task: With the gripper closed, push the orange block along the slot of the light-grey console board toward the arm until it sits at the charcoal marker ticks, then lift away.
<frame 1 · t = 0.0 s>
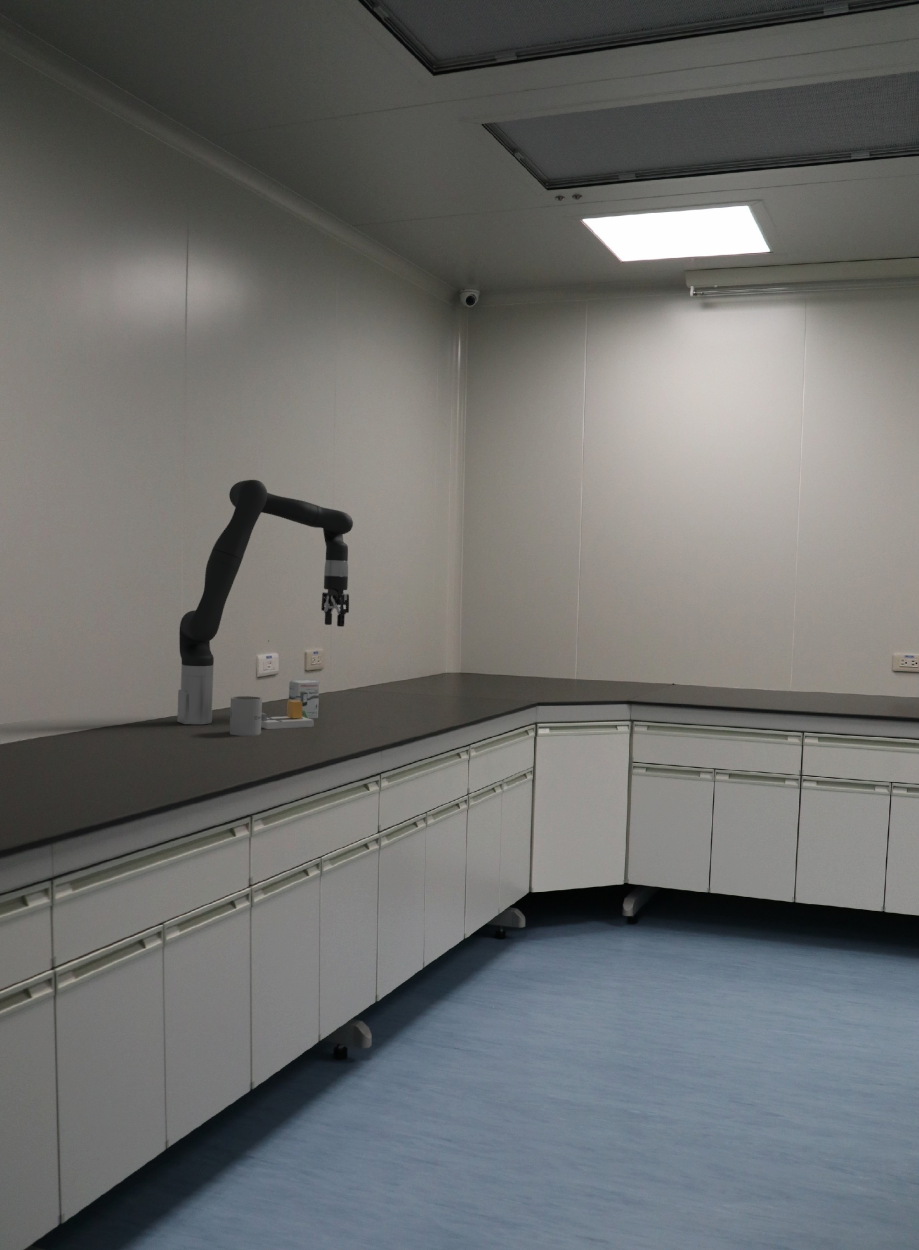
hand: (334, 625, 334), 29 cm above the worktop, fingers open, 8 cm apart
ink box: (302, 718, 330), on the worktop
console: (283, 725, 311), on the worktop
mug: (248, 733, 295), on the worktop
orange block: (294, 709, 313), point 5 cm above the worktop, slide at 3.5 cm
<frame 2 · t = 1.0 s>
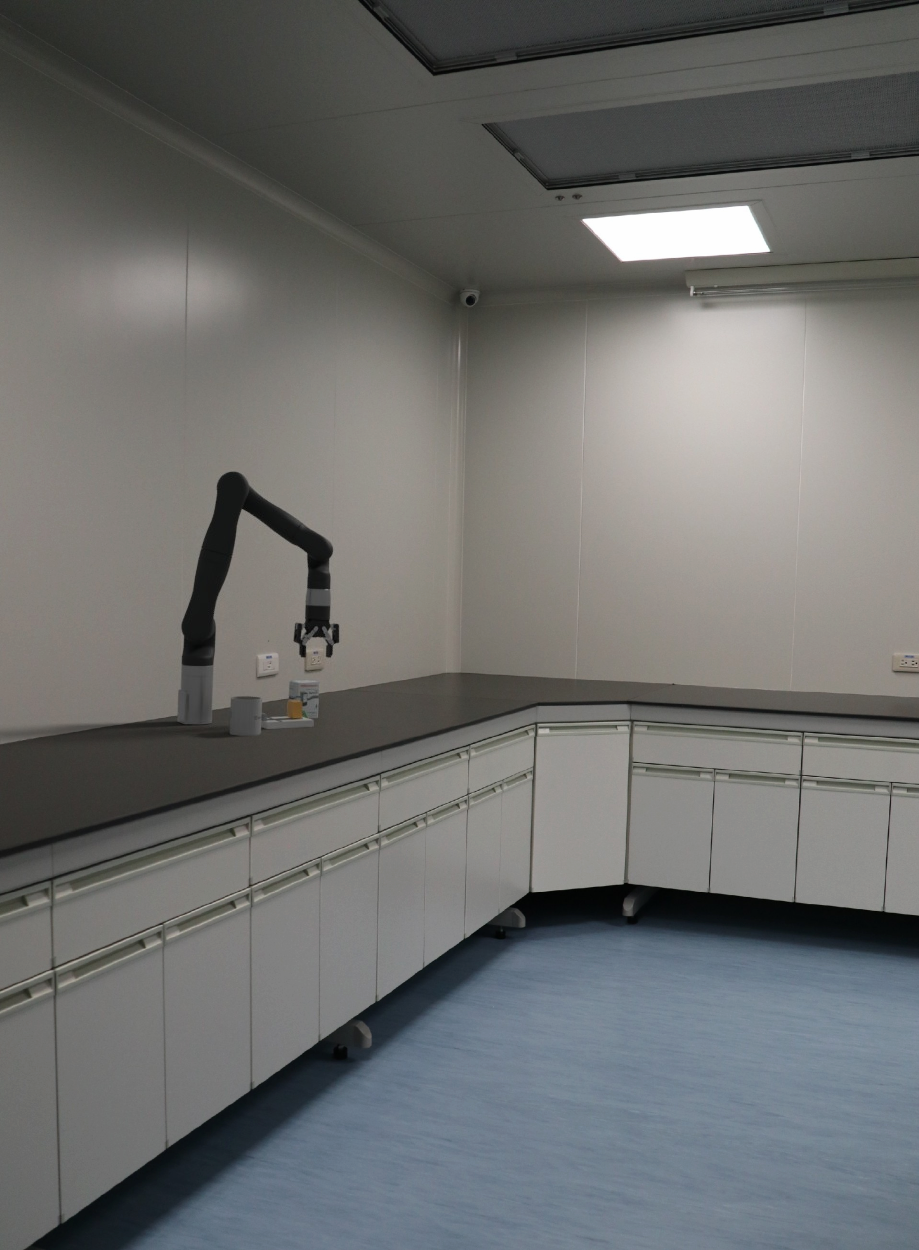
hand: (315, 657, 317), 20 cm above the worktop, fingers open, 8 cm apart
nothing on the worktop moved.
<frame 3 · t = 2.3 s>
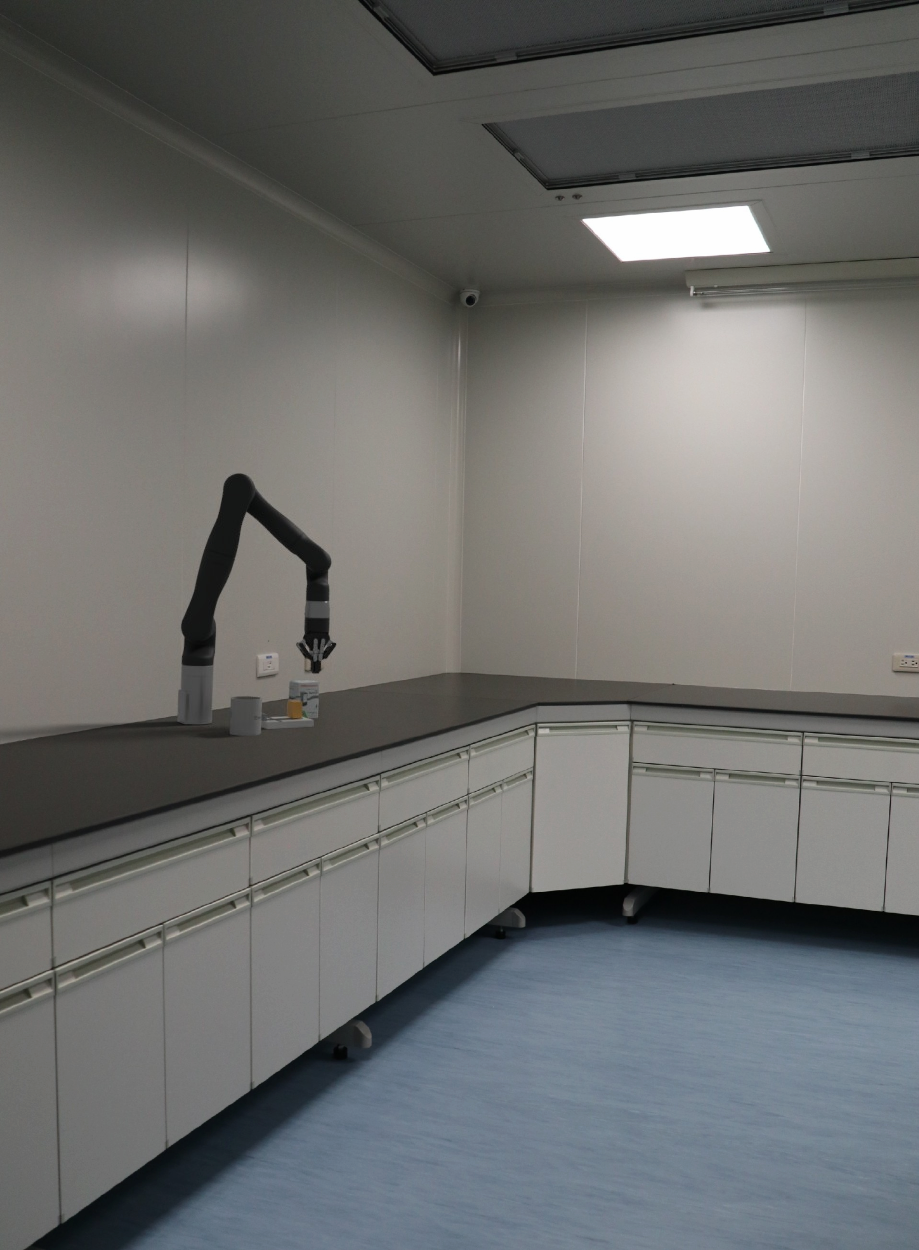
hand: (315, 673, 316), 15 cm above the worktop, fingers closed
nothing on the worktop moved.
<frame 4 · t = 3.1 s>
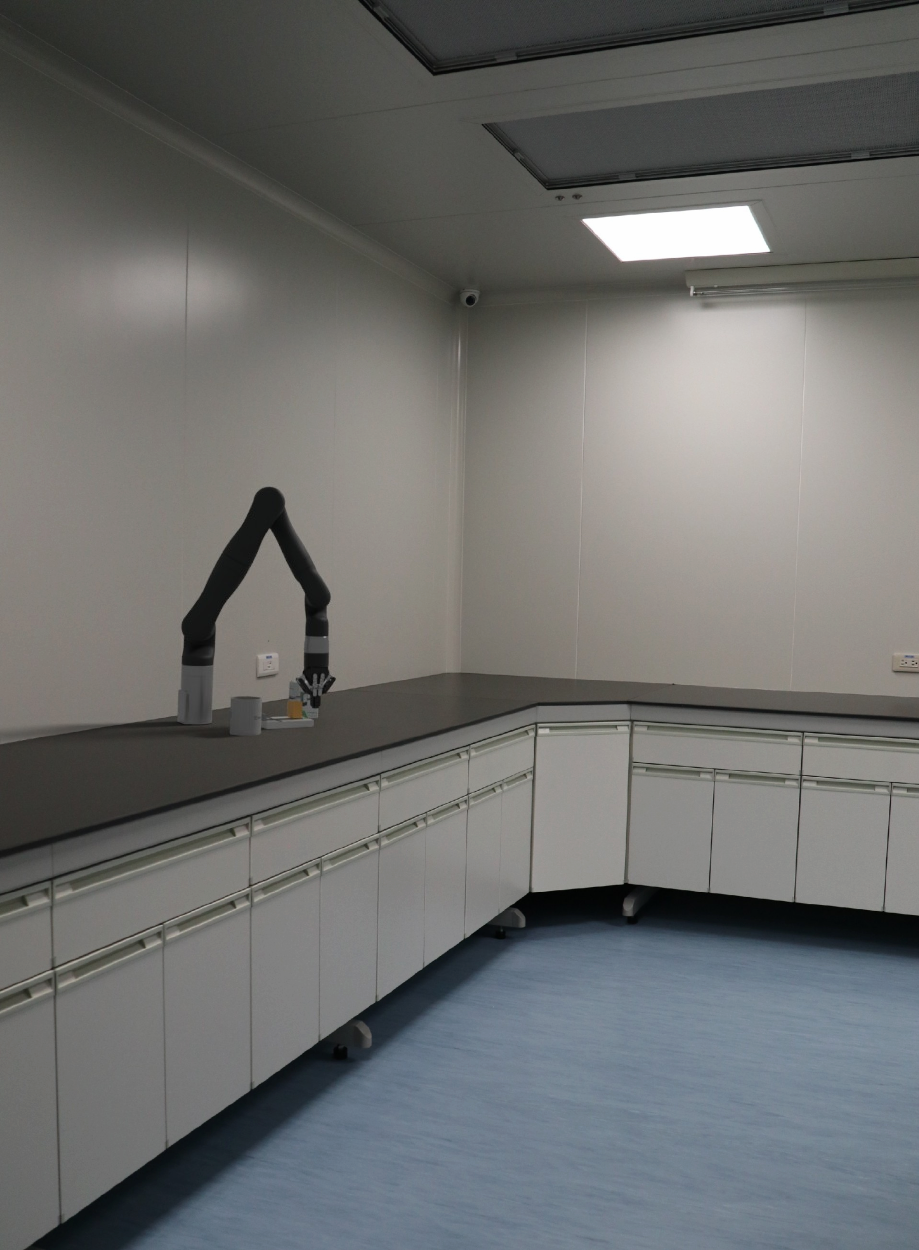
hand: (315, 708, 317), 5 cm above the worktop, fingers closed
nothing on the worktop moved.
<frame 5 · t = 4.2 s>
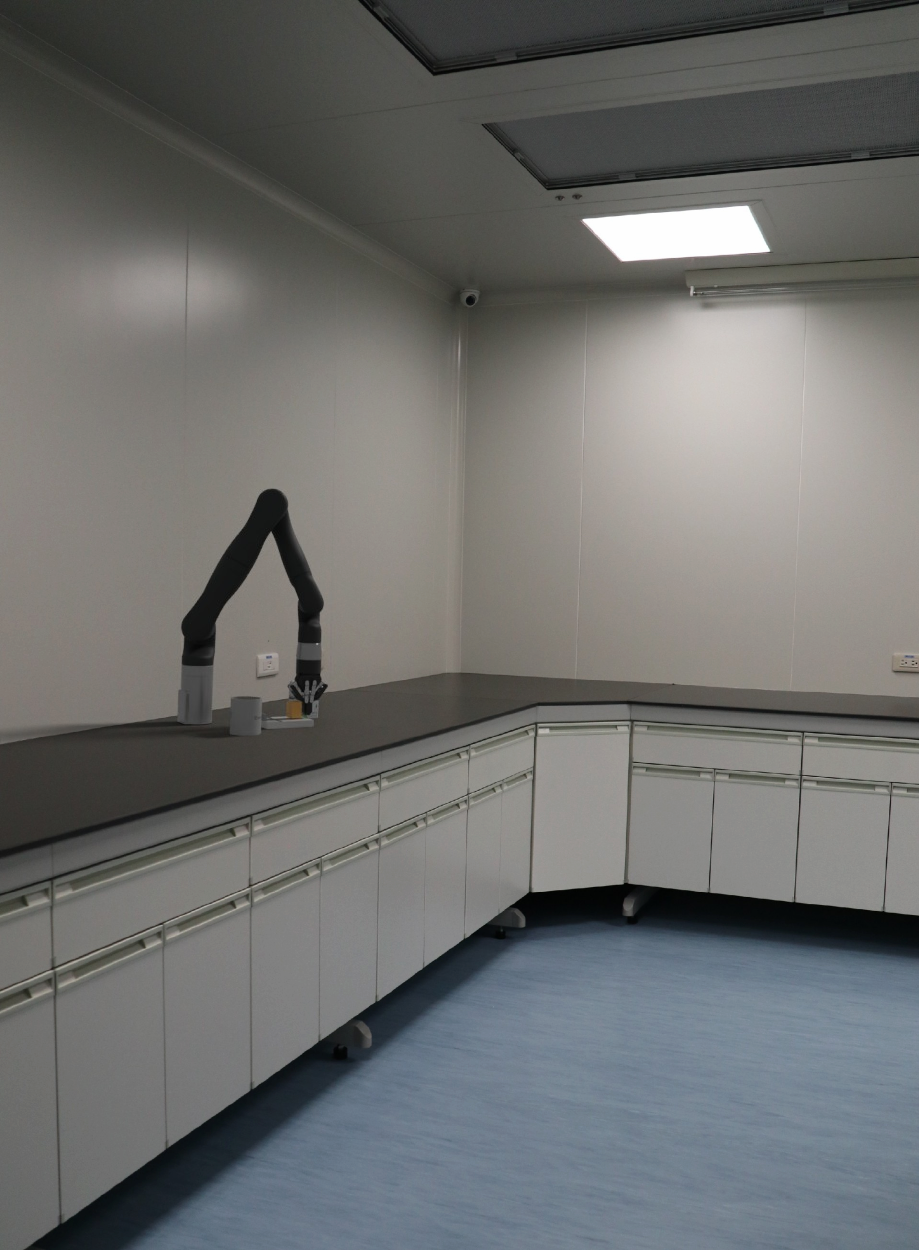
hand: (306, 714, 316), 3 cm above the worktop, fingers closed
orange block: (293, 709, 313), point 5 cm above the worktop, slide at 3.2 cm, touching gripper
everything else where it was.
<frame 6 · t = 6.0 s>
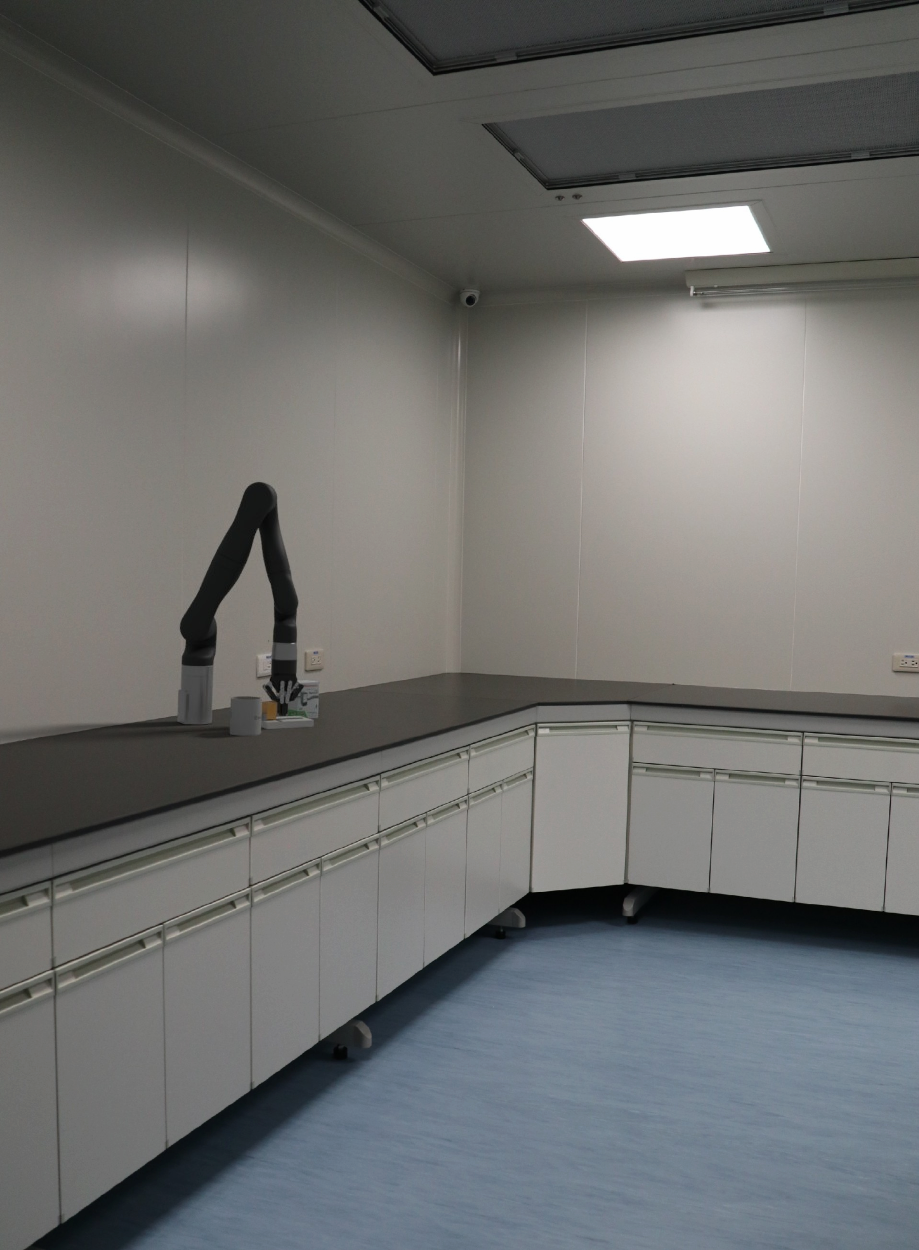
hand: (282, 715, 311), 3 cm above the worktop, fingers closed
orange block: (268, 710, 308), point 5 cm above the worktop, slide at -4.8 cm, touching gripper
everything else where it was.
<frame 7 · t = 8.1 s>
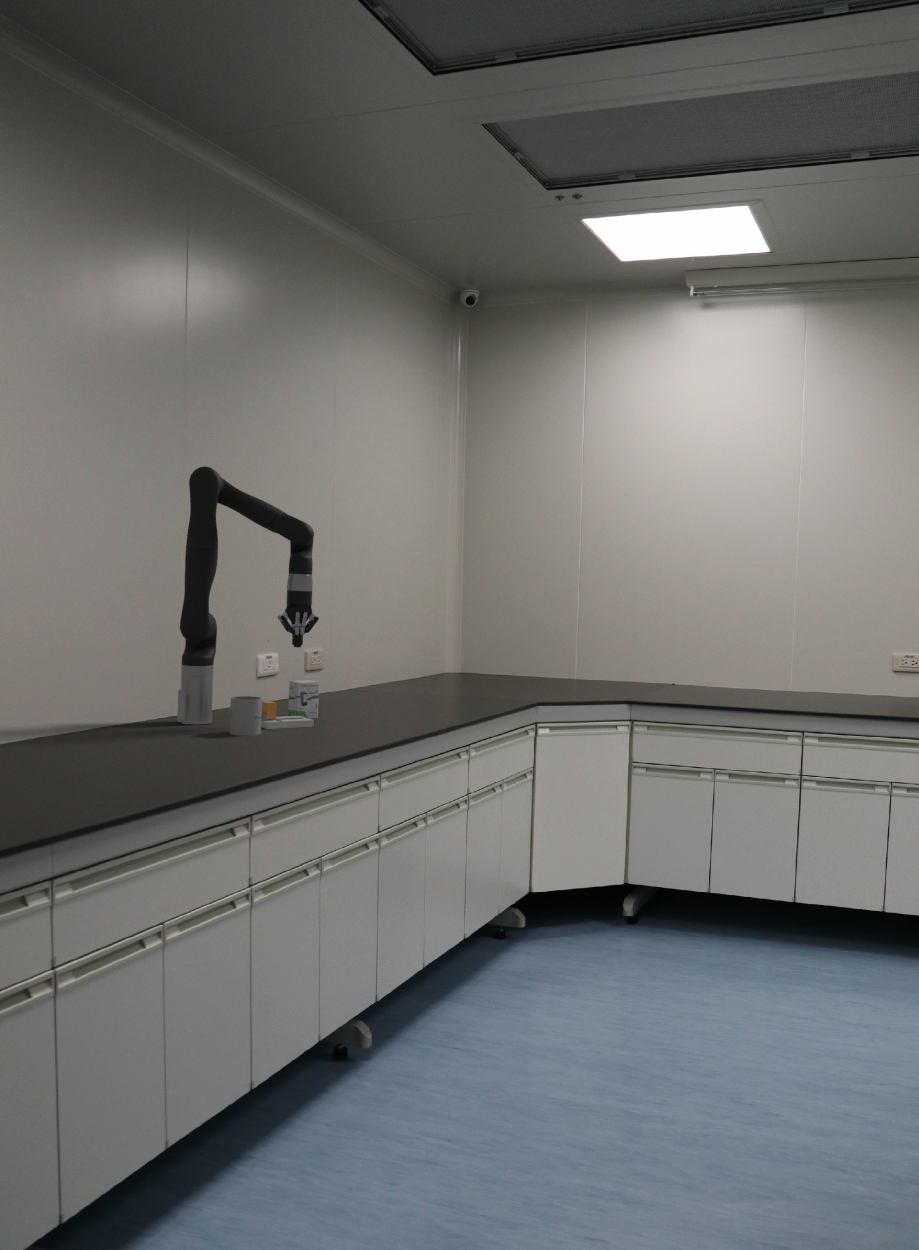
hand: (297, 647, 313), 23 cm above the worktop, fingers closed
orange block: (268, 710, 308), point 5 cm above the worktop, slide at -4.8 cm
everything else where it was.
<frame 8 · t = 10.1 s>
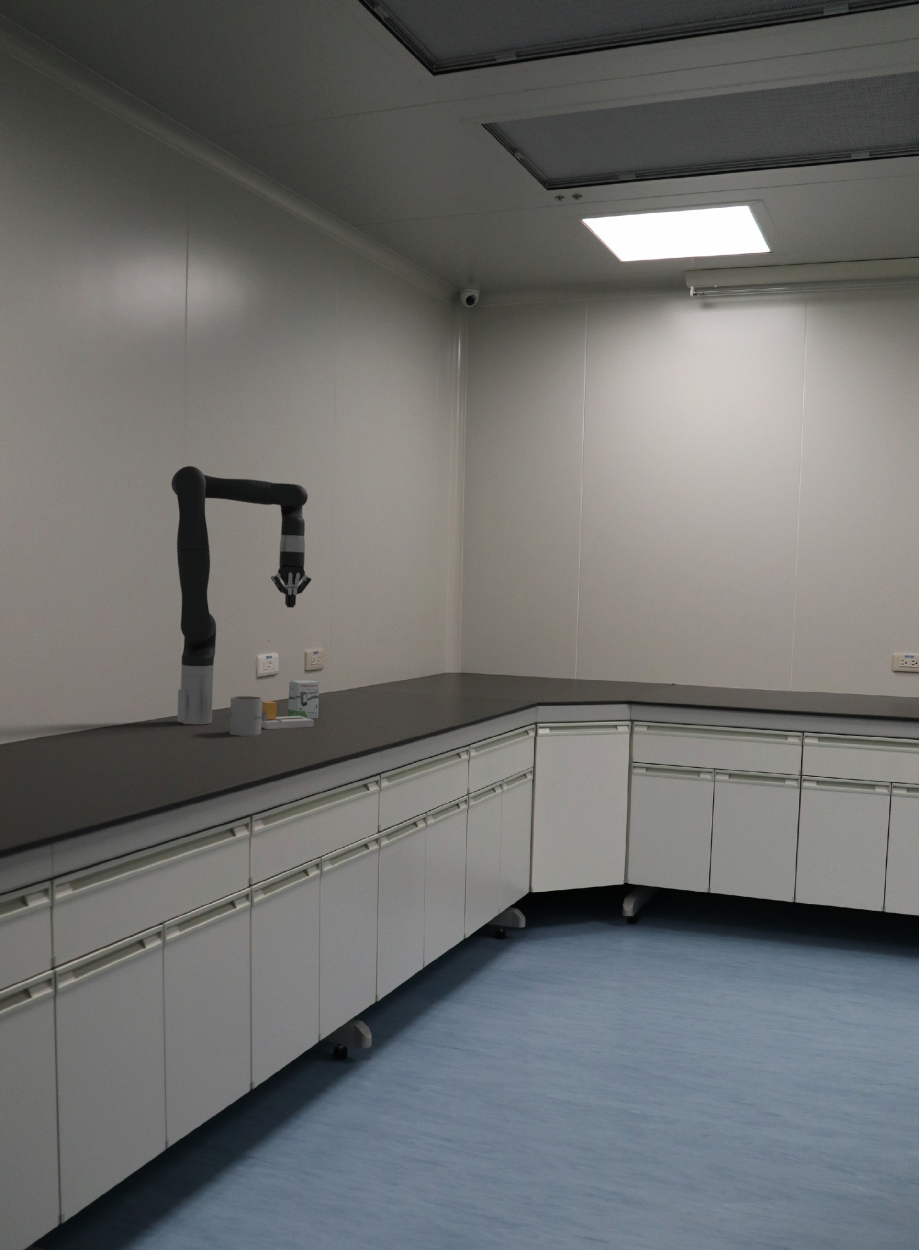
hand: (290, 607, 320), 35 cm above the worktop, fingers closed
nothing on the worktop moved.
at the end: orange block slide at -4.8 cm; the gripper is holding nothing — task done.
